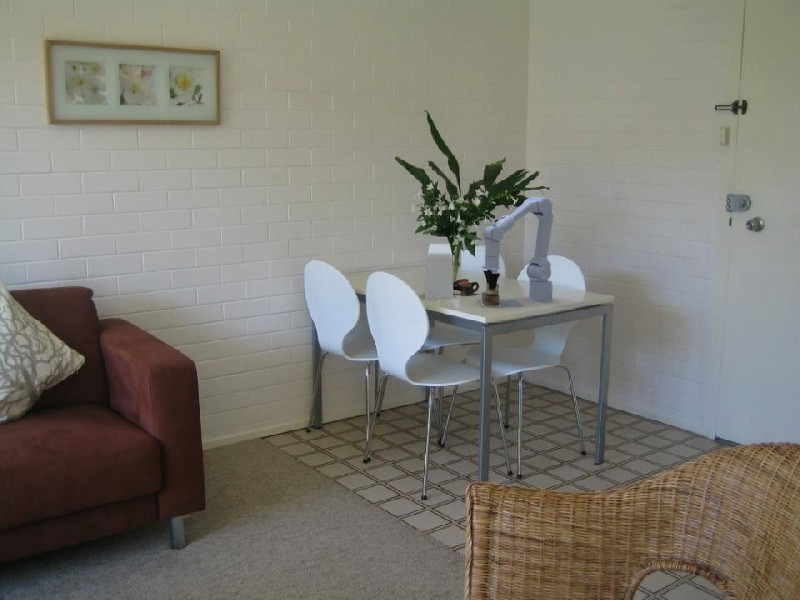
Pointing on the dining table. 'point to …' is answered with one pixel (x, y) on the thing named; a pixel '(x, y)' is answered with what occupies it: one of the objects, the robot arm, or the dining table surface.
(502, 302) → the blueprint mat
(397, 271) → the dining table surface
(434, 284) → the milk
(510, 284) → the dining table surface
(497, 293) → the oak block
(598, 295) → the dining table surface
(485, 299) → the walnut base
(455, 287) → the pottery mug
